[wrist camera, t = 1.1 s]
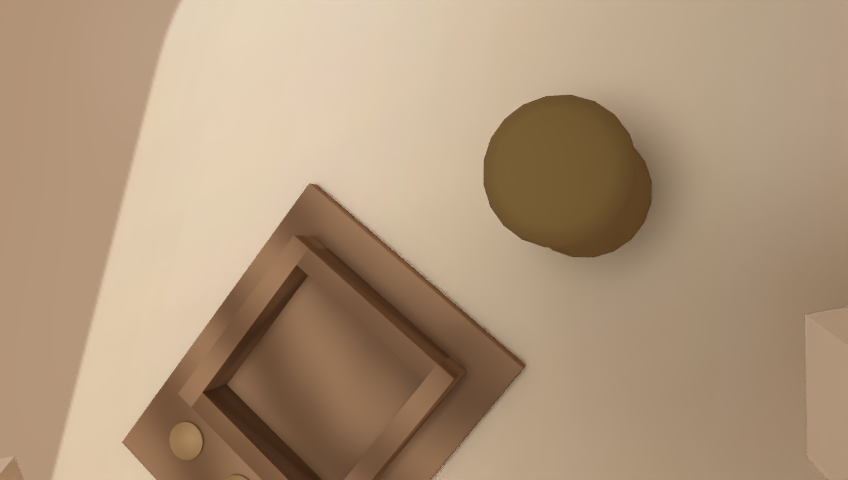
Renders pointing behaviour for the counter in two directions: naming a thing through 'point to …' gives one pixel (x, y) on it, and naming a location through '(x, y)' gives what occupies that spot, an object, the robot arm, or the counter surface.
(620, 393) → the counter surface
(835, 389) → the robot arm
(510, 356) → the walnut holder
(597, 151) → the cork
